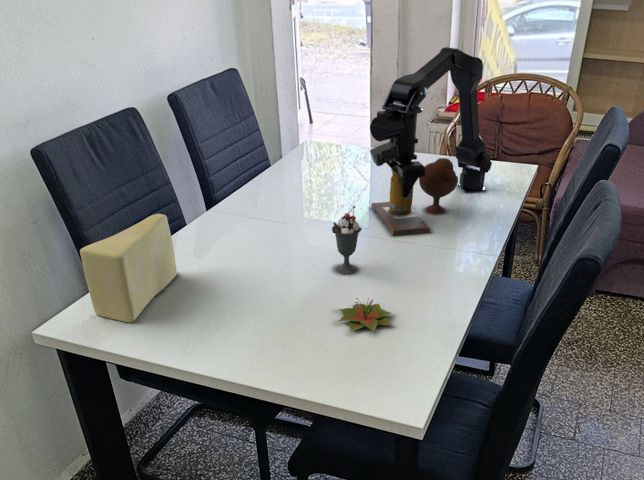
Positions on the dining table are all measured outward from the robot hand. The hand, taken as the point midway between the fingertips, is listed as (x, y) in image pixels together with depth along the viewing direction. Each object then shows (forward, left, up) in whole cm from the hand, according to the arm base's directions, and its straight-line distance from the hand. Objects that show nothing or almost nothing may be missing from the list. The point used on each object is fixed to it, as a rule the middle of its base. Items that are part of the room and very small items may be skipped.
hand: (401, 193), depth 172 cm
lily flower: (+24, +49, -8) cm, 55 cm away
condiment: (0, +1, -5) cm, 5 cm away
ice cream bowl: (-12, -4, -8) cm, 15 cm away
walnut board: (0, 0, -8) cm, 8 cm away
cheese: (+67, +29, -8) cm, 73 cm away
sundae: (+22, +26, -8) cm, 35 cm away
